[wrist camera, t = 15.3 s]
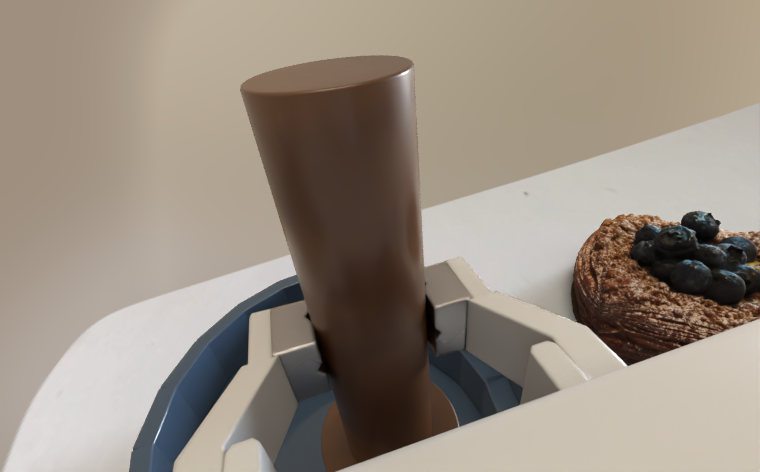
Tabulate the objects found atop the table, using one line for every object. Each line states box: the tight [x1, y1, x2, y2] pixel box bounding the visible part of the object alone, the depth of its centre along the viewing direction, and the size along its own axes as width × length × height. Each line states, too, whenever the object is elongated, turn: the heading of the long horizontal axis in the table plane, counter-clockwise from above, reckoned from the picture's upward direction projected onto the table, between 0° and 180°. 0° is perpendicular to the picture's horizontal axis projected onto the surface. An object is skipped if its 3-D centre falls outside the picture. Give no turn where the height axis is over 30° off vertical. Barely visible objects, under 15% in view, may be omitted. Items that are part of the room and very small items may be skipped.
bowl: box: [129, 275, 523, 472], centre depth 15 cm, size 14×14×6 cm
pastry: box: [571, 211, 760, 366], centre depth 19 cm, size 11×12×6 cm
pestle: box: [240, 56, 459, 472], centre depth 10 cm, size 5×5×14 cm
